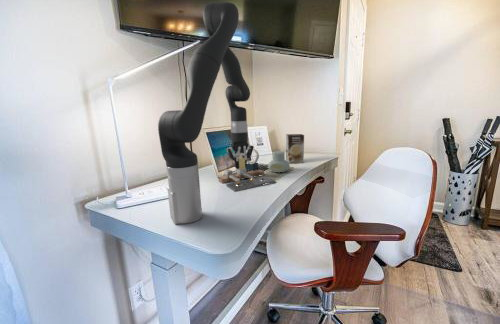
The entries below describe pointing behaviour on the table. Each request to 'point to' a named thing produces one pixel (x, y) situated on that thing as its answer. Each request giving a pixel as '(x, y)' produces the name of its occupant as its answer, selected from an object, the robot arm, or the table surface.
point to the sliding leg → (243, 168)
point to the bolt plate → (249, 183)
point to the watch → (253, 164)
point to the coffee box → (295, 148)
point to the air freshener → (278, 162)
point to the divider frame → (237, 176)
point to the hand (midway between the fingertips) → (240, 167)
